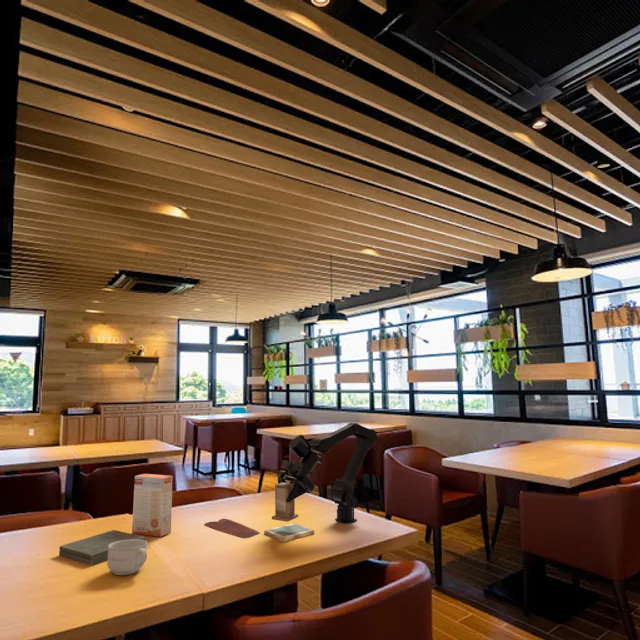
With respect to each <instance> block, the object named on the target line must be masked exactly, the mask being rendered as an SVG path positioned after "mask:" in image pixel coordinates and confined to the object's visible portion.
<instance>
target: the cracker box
mask: <svg viewBox="0 0 640 640" xmlns="http://www.w3.org/2000/svg"><path fill="white" fill-rule="evenodd" d="M173 480H174V479H173V475H168V474H166V475H165V474H153V473H152V474H151V473H142V474H138V475H134V486H133V487H134V489H133V502H132V503H133V507H132V527H131V528H132V529H131V532H132V533H131V534H135V535H142V536H143V535H144V536H151V537H157V538H162V537H163V536H166V535H169V534H171V532H172V510H173V508H172V506H173V505H172V504H173Z"/></svg>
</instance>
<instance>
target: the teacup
mask: <svg viewBox="0 0 640 640" xmlns="http://www.w3.org/2000/svg"><path fill="white" fill-rule="evenodd" d="M147 545H148V541H146V539H145V540H138V539H131V540H122V541H117V542H114V543H111V544H110V545H109V546H108V560H107V569H109V571H111V572H112V574H114V575H117V576H126V575H127V576H128V575H132V574H135V573H137V572H138V571H139V570H141V568H142V567H143V566H144V565H145V563H146V561H147V558H148V552H147Z"/></svg>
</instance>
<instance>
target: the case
mask: <svg viewBox="0 0 640 640" xmlns="http://www.w3.org/2000/svg"><path fill="white" fill-rule="evenodd" d="M131 539H138V540H145V541H146V537H145V536H143V535H139V534H135V533H130V532H126V531H125V532H124V531H119V530H115V529H112V530H109V531H105V532H102V533H99V534H96V535H92V536H90V537H85V538H83V539H82V538H81V539H79V540H75V541H72V542H68V543H65V544H63V545H60V546H59V548H58V549H59V551H58V552H59V553H58V555H59V557H62V558H66V559H69V560H71V561H75V562H79V563H82V564H85V565H89V566H93V565H98V564H101V563H103V562H106V561H108V546H109V545H110V544H111V543H114V542H117V541H122V540H131Z"/></svg>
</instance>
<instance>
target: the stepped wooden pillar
mask: <svg viewBox="0 0 640 640" xmlns="http://www.w3.org/2000/svg"><path fill="white" fill-rule="evenodd" d="M293 487H294V483H293V484H292V483H283V482H282V483H280V482H279V483H276V484H275V485H274V491H275V492H274V495H275V496H274V497H275V499H274V502H275V505H274V506H275V508H274V512H275V513H274V515H272V516H271V520H275V521H280V522H286V523H288V522H291V521H292V520H294V519H297V518H299V514H298V513H295V511H296V510H295V509H296V507H295V506H296V505H295V499H296V498H295V499H294V500H292V501H290V502H287V501H286V500H287V498H288V496H289V494H290V492H291V491H292V489H293Z"/></svg>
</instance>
